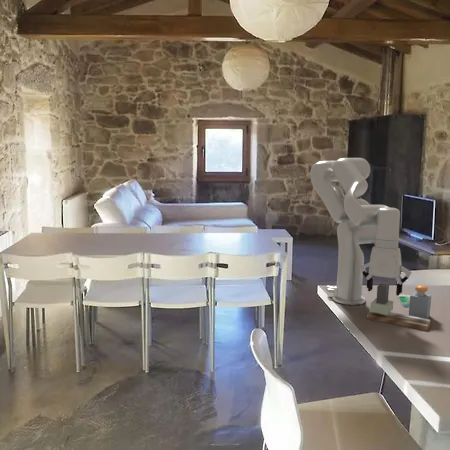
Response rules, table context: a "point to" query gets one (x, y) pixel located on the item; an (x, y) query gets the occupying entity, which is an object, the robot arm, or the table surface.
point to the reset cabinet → (420, 305)
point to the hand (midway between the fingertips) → (384, 292)
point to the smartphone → (404, 300)
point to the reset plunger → (421, 290)
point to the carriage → (382, 301)
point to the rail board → (401, 320)
